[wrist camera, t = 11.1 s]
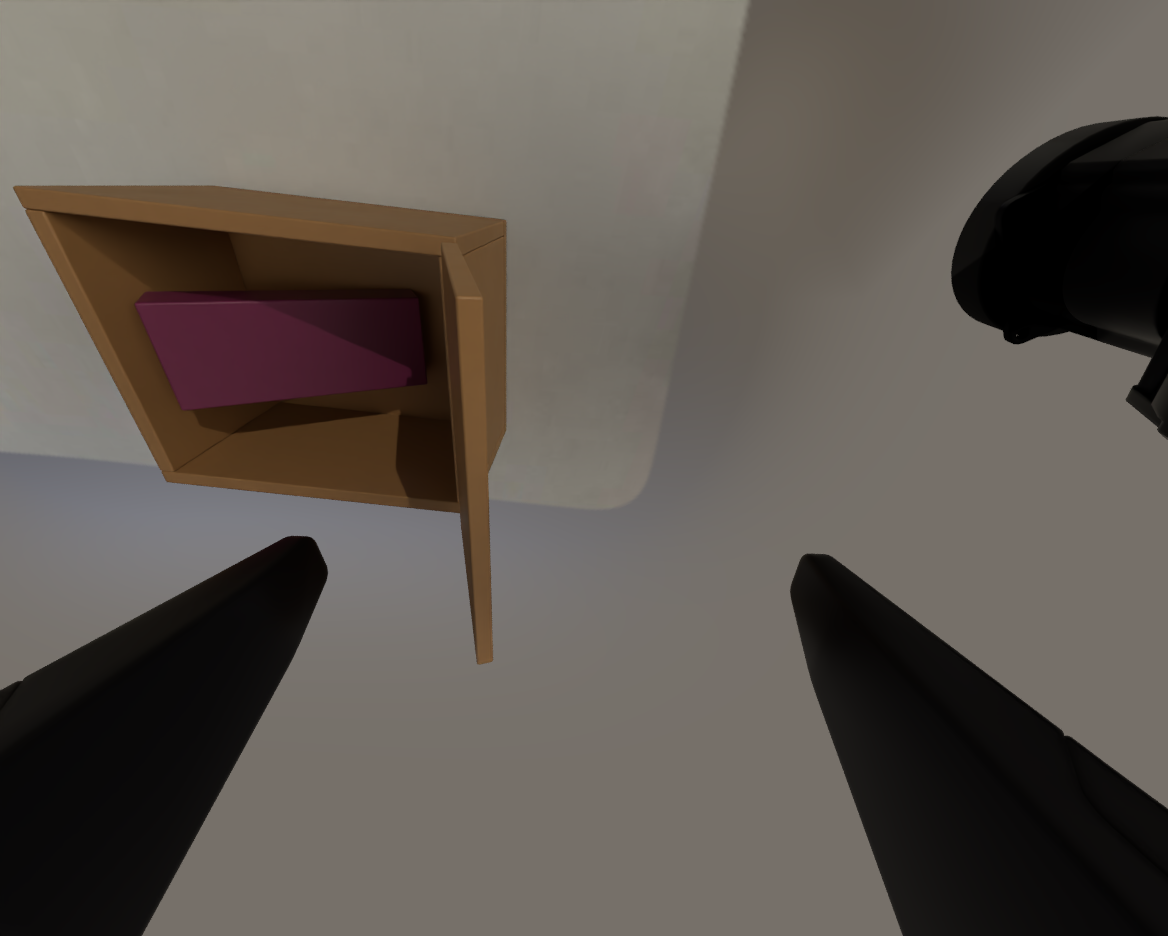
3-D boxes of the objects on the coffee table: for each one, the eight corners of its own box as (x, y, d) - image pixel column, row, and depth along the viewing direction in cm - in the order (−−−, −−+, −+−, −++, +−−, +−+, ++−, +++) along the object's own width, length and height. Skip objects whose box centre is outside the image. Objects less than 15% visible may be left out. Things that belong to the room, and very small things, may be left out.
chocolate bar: (143, 290, 14) (132, 303, 13) (410, 288, 17) (419, 297, 16) (187, 393, 16) (182, 412, 15) (420, 372, 19) (428, 385, 18)
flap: (440, 241, 10) (457, 242, 10) (461, 526, 15) (472, 525, 15) (455, 296, 6) (483, 296, 6) (477, 665, 11) (492, 662, 11)
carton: (506, 219, 16) (456, 237, 11) (506, 430, 21) (471, 515, 16) (211, 185, 16) (10, 185, 11) (280, 405, 21) (165, 482, 16)
